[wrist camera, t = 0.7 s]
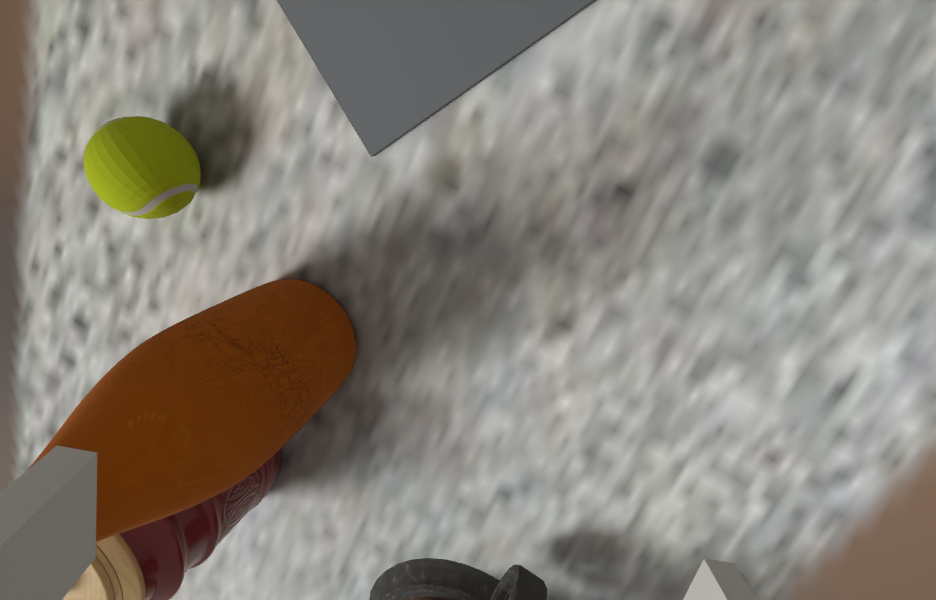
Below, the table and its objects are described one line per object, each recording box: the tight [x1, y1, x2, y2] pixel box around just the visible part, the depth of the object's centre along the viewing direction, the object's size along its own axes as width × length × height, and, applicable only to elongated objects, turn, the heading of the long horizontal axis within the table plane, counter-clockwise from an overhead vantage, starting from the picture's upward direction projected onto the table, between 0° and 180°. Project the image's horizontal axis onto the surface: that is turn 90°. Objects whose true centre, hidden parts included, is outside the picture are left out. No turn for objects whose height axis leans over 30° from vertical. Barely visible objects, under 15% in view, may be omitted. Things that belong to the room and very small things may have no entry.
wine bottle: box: [29, 279, 356, 542], centre depth 27 cm, size 10×10×30 cm
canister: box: [62, 450, 281, 600], centre depth 39 cm, size 13×13×18 cm
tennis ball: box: [84, 116, 201, 219], centre depth 35 cm, size 7×7×7 cm
